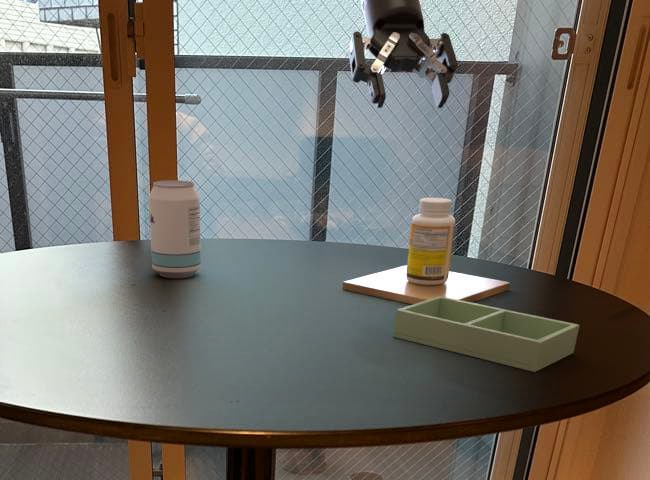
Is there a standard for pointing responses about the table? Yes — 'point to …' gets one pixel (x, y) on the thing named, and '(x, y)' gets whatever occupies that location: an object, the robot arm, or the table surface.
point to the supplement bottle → (431, 242)
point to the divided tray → (487, 332)
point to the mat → (424, 287)
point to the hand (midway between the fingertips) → (412, 103)
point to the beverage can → (175, 228)
